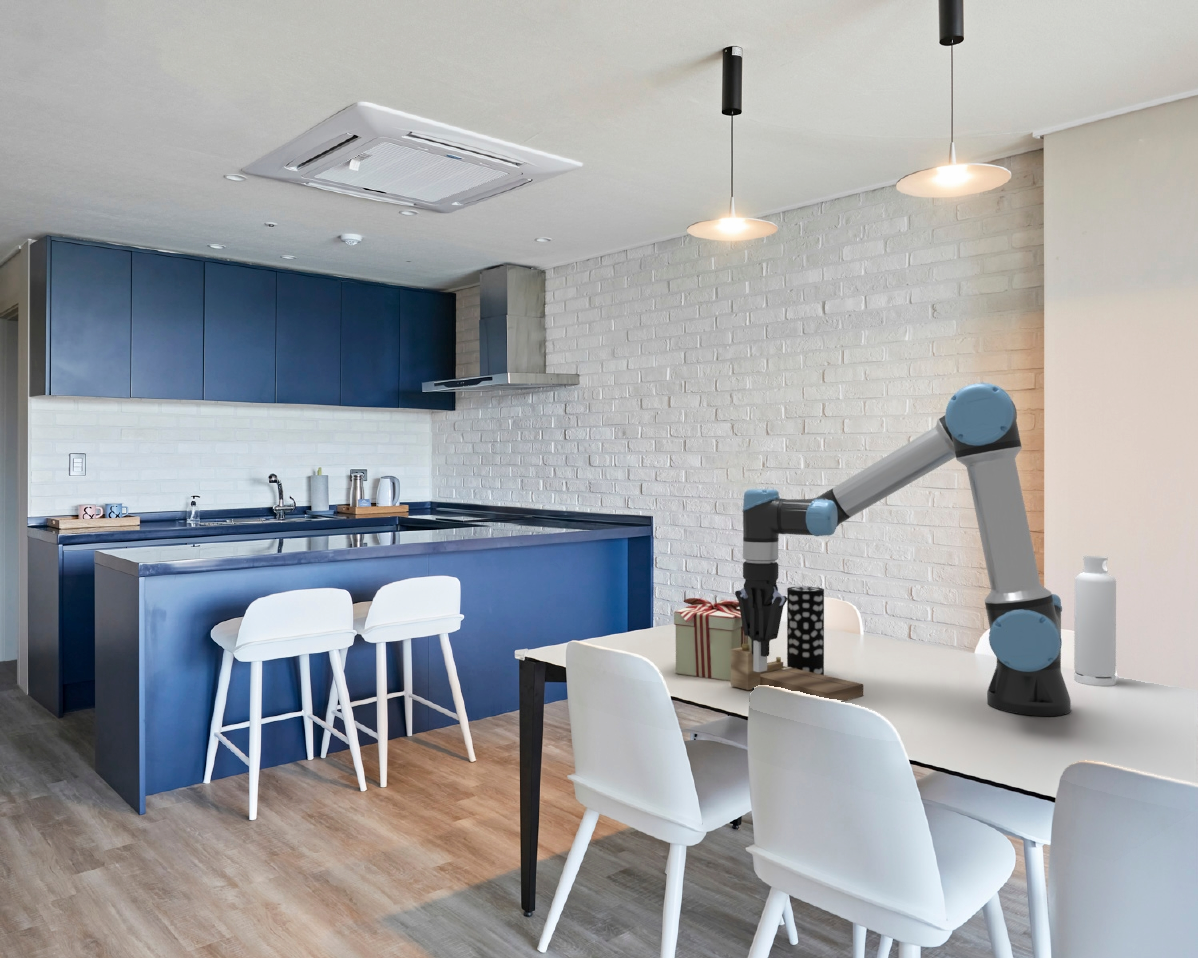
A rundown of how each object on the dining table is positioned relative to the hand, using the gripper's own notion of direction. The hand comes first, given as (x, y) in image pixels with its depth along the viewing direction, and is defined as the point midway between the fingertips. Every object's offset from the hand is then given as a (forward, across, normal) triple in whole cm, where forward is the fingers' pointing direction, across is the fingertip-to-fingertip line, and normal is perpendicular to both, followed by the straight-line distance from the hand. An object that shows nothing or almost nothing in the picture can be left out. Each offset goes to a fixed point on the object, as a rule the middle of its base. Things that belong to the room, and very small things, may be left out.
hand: (760, 670), depth 191 cm
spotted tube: (+5, +4, -20) cm, 21 cm away
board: (+5, -3, -8) cm, 10 cm away
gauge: (+4, +4, -5) cm, 8 cm away
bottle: (+5, -40, -66) cm, 77 cm away
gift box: (+5, +18, -5) cm, 20 cm away
